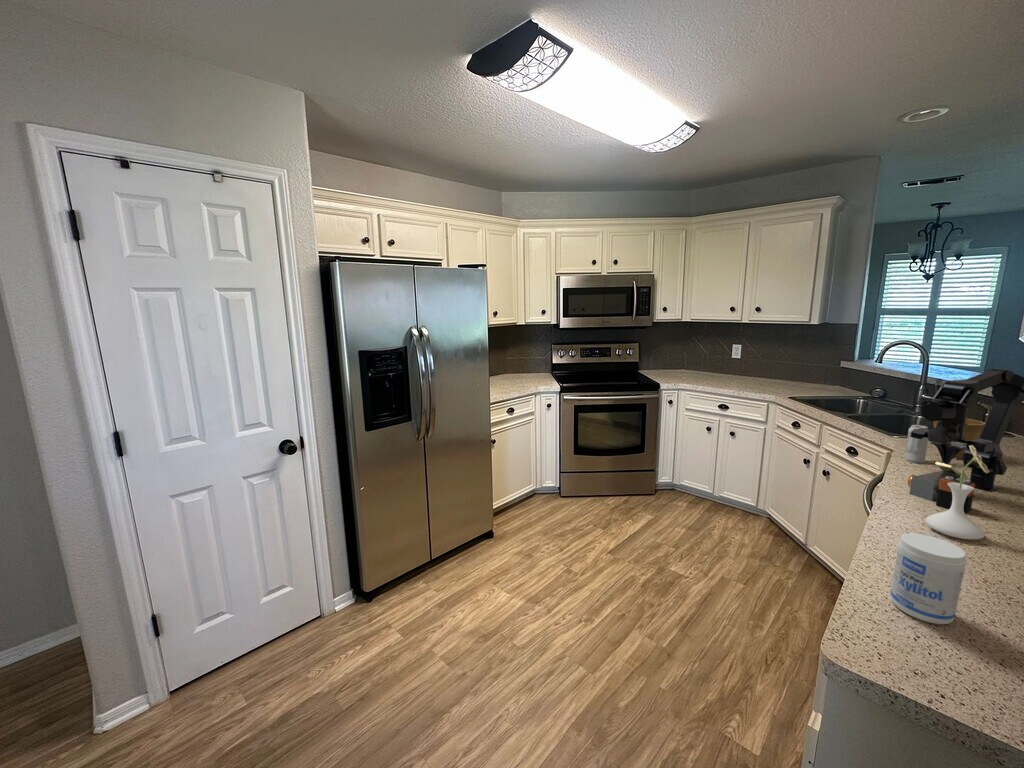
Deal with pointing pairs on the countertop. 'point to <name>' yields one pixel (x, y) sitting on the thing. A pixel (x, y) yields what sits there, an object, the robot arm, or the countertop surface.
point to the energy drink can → (916, 446)
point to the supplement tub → (928, 578)
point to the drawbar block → (928, 484)
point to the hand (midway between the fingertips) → (945, 464)
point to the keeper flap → (948, 468)
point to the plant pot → (969, 432)
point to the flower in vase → (958, 509)
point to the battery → (946, 493)
